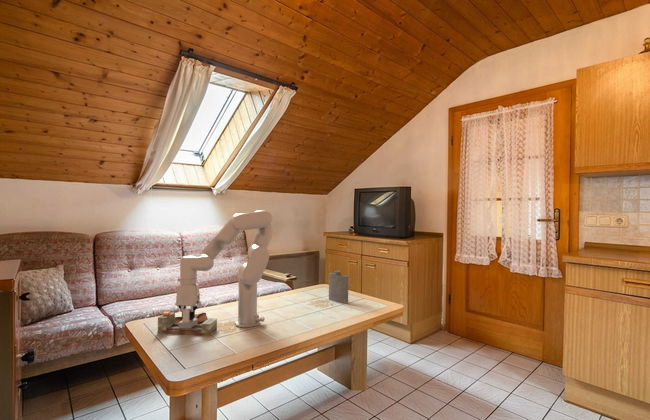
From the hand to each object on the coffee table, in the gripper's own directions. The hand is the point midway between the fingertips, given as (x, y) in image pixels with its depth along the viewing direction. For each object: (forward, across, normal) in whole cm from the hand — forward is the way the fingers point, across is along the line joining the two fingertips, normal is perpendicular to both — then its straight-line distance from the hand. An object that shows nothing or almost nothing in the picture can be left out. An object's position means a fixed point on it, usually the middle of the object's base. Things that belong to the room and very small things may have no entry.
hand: (188, 318), depth 163 cm
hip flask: (+7, +68, +63) cm, 93 cm away
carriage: (+3, 0, 0) cm, 3 cm away
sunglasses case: (+7, -4, +11) cm, 14 cm away
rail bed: (+6, 0, 0) cm, 6 cm away
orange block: (+2, -11, 0) cm, 11 cm away
